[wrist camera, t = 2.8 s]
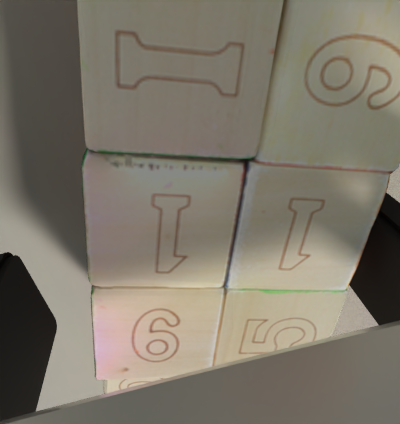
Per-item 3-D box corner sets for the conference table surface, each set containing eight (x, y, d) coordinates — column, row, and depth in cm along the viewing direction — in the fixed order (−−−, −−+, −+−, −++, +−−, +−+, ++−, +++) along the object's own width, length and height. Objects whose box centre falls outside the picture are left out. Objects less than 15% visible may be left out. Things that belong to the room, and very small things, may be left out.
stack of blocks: (211, 306, 25) (255, 529, 14) (118, 305, 24) (91, 543, 13) (285, -85, 15) (619, -307, 4) (129, -116, 14) (55, -506, 3)
